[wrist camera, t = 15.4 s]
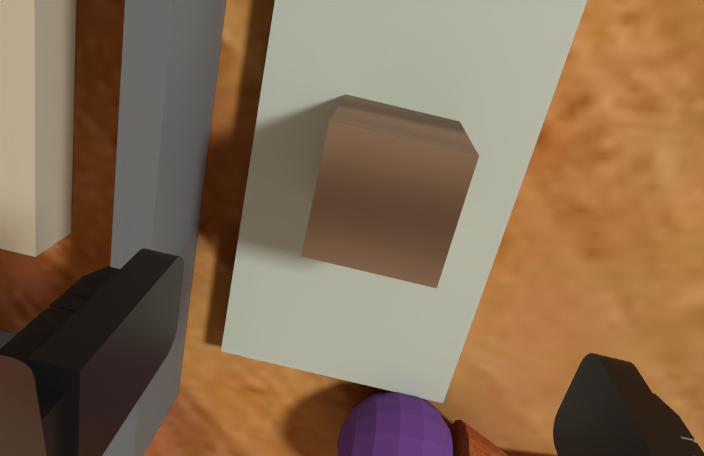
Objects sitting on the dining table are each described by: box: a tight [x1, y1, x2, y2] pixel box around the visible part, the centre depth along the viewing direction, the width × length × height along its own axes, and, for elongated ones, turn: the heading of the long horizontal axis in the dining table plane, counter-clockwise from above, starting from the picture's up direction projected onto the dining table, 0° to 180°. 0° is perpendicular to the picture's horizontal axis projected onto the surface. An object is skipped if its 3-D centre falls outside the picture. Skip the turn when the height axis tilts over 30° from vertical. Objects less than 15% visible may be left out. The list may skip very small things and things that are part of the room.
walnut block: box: [301, 94, 479, 288], centre depth 21 cm, size 5×5×6 cm
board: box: [221, 0, 587, 403], centre depth 25 cm, size 24×12×2 cm, turn 168°
